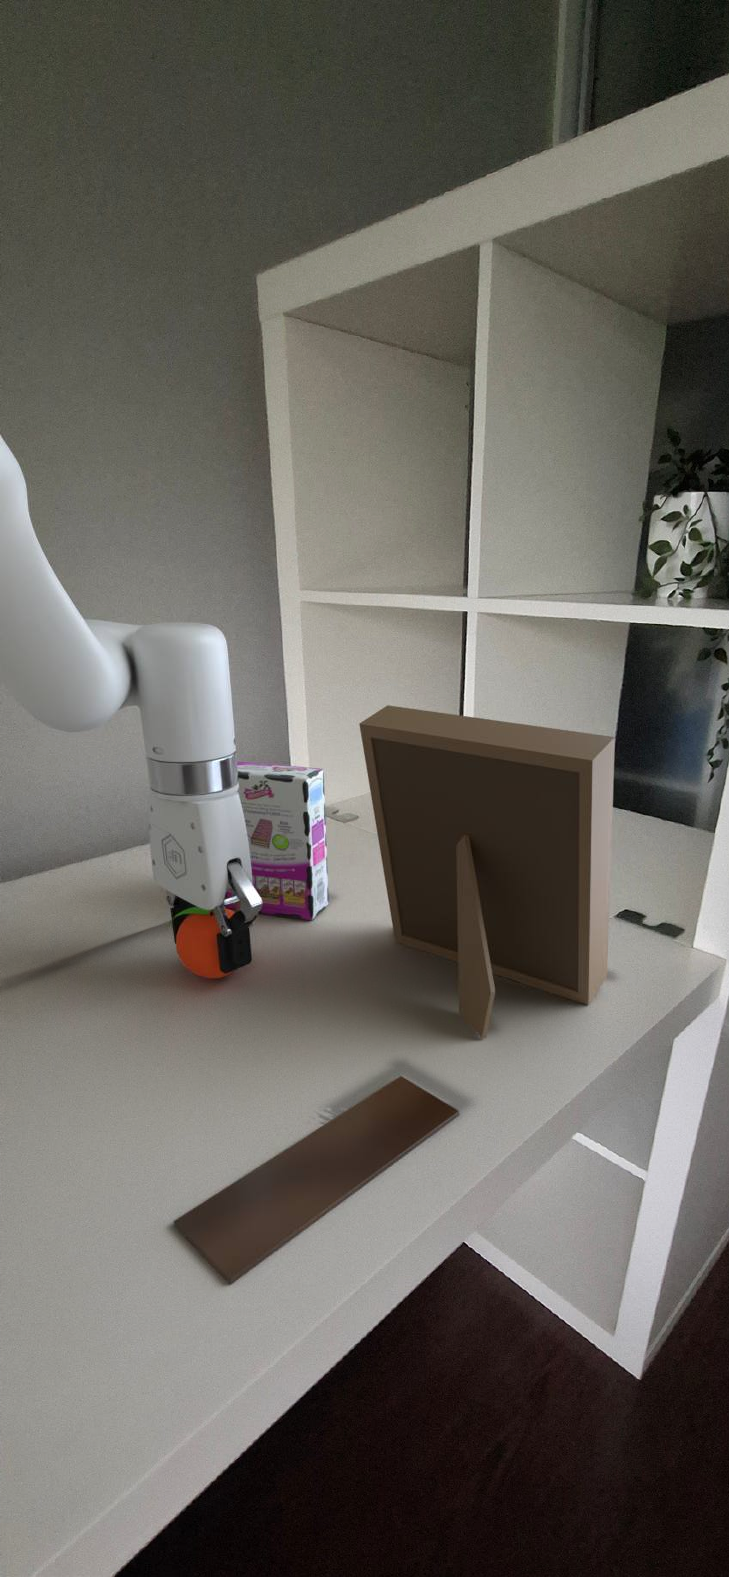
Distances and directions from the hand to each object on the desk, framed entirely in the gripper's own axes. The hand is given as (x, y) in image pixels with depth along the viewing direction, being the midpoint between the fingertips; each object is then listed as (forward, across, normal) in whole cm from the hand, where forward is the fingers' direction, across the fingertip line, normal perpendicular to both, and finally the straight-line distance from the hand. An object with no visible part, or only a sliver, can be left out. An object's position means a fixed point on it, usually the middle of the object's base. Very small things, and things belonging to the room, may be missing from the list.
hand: (212, 952), depth 75 cm
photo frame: (+3, +19, +16) cm, 25 cm away
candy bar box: (+3, -8, +14) cm, 16 cm away
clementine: (+3, 0, 0) cm, 3 cm away
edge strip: (+2, +27, -9) cm, 29 cm away
